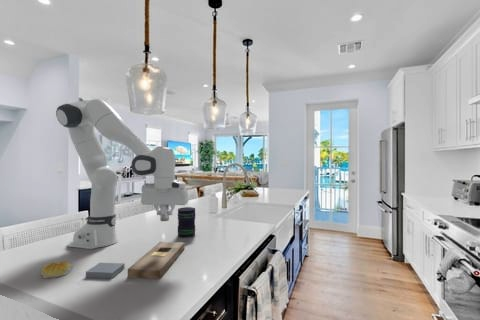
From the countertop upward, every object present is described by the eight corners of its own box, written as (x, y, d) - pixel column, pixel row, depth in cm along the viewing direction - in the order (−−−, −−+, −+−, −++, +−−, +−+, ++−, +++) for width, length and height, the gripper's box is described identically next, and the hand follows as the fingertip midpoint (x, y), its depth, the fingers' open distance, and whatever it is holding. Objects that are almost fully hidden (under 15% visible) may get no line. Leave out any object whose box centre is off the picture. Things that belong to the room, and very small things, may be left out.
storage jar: (174, 235, 139) (174, 208, 139) (189, 231, 146) (189, 206, 146) (182, 239, 132) (183, 211, 132) (198, 235, 138) (198, 209, 138)
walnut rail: (127, 277, 88) (127, 268, 88) (159, 248, 118) (160, 241, 118) (160, 278, 88) (160, 269, 88) (184, 248, 118) (184, 242, 118)
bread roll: (49, 270, 95) (49, 259, 95) (74, 268, 96) (74, 258, 96) (34, 280, 87) (35, 268, 87) (62, 278, 88) (62, 267, 88)
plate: (85, 277, 88) (85, 271, 88) (99, 267, 96) (99, 262, 96) (112, 278, 88) (112, 272, 88) (124, 268, 96) (124, 263, 96)
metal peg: (158, 221, 106) (159, 204, 106) (162, 219, 110) (162, 203, 110) (167, 221, 106) (167, 205, 106) (170, 219, 110) (170, 203, 110)
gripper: (138, 183, 106) (138, 216, 106) (185, 184, 104) (185, 217, 104) (145, 182, 112) (144, 213, 112) (189, 183, 111) (189, 213, 111)
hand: (164, 215), depth 108 cm, fingers closed on metal peg, 4 cm apart
